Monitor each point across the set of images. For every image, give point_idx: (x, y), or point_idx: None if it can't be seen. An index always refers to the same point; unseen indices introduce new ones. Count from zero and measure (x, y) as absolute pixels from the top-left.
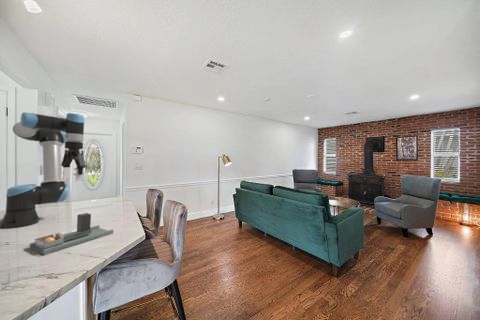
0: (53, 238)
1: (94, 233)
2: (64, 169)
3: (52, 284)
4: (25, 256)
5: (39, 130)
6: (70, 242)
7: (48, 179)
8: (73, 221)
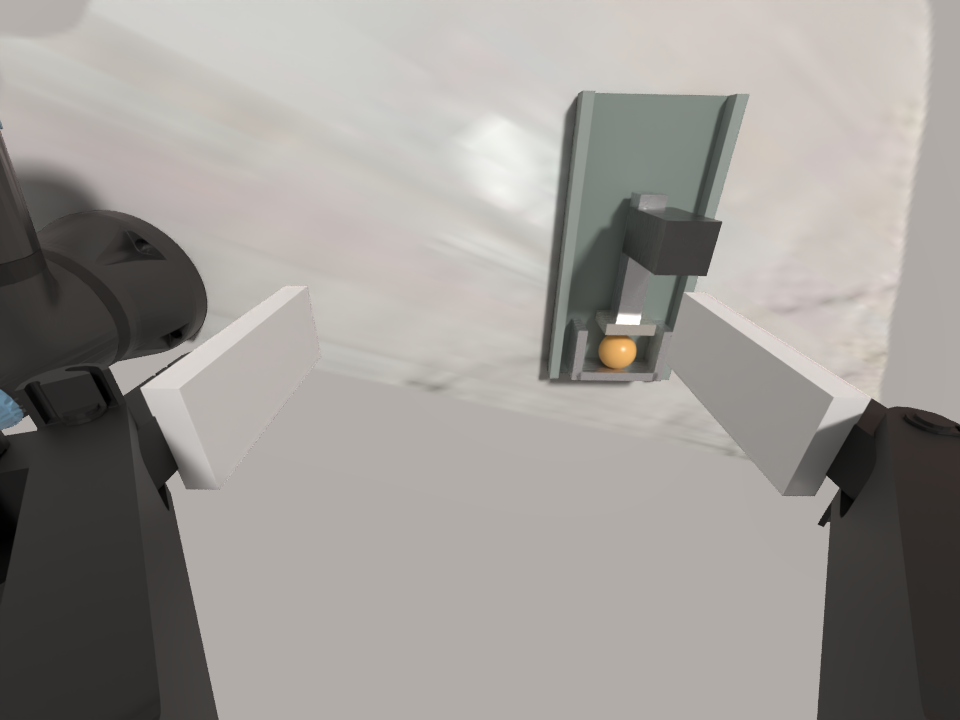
0: (631, 347)
1: (651, 170)
2: (243, 450)
3: None
4: (610, 394)
5: None
6: None
7: None
8: (275, 92)
